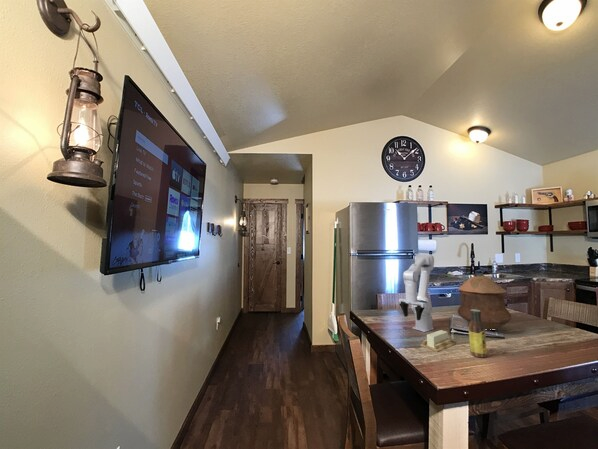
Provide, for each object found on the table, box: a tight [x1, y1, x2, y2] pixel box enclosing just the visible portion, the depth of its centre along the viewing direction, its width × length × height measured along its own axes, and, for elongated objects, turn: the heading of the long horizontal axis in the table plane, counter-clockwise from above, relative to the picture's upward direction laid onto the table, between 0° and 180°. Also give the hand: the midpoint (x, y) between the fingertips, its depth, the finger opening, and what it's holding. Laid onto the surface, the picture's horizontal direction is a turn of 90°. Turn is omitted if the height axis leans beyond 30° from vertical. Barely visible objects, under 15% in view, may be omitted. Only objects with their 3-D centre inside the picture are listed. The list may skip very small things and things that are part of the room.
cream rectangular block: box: [426, 329, 449, 347], centre depth 128 cm, size 12×4×5 cm, turn 121°
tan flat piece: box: [420, 338, 456, 353], centre depth 128 cm, size 15×8×2 cm, turn 121°
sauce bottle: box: [468, 309, 488, 358], centre depth 117 cm, size 7×6×20 cm
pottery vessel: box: [457, 275, 513, 330], centre depth 151 cm, size 26×26×30 cm
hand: (412, 318), depth 140 cm, fingers open, 7 cm apart
